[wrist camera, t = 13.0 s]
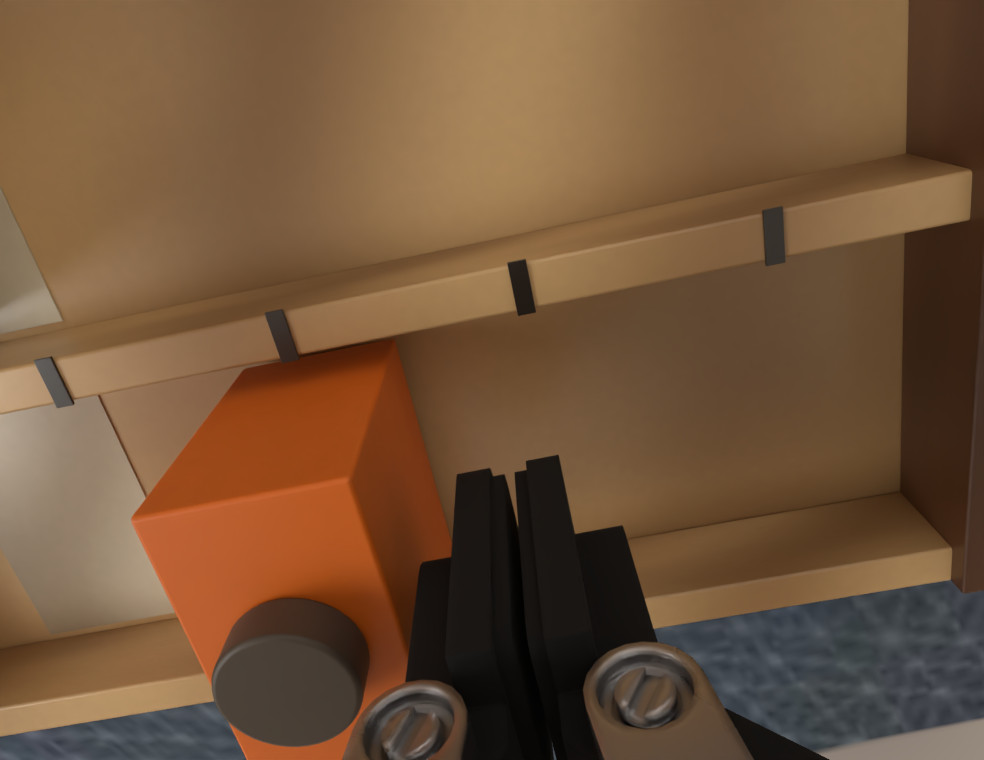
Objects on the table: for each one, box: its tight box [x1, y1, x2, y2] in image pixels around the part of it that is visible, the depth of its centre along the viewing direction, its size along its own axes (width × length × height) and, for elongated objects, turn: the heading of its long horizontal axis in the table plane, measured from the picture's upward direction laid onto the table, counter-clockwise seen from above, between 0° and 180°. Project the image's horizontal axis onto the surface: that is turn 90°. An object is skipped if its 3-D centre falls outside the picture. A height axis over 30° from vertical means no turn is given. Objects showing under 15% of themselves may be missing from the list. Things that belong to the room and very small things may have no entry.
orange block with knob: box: [131, 339, 452, 760], centre depth 12 cm, size 3×5×6 cm, turn 12°
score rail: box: [0, 0, 984, 736], centre depth 13 cm, size 24×15×3 cm, turn 102°
